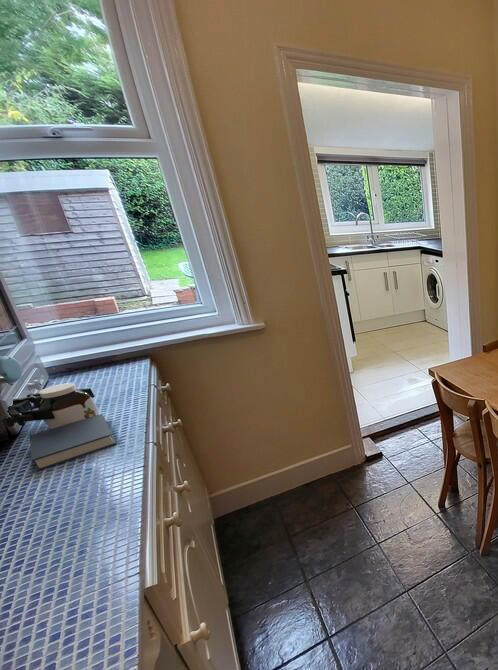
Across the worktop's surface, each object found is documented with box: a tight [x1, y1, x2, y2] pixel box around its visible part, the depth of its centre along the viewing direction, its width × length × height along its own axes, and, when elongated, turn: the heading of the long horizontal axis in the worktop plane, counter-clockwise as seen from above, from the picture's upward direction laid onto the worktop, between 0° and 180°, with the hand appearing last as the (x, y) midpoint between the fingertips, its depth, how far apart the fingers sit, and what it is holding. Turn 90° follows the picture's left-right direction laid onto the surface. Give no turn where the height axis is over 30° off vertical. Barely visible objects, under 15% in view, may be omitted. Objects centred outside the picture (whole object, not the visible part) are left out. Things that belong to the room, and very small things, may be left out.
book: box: [29, 413, 117, 471], centre depth 105 cm, size 18×14×3 cm
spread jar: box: [37, 382, 99, 429], centre depth 114 cm, size 12×11×12 cm
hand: (72, 402), depth 113 cm, fingers closed on spread jar, 12 cm apart
